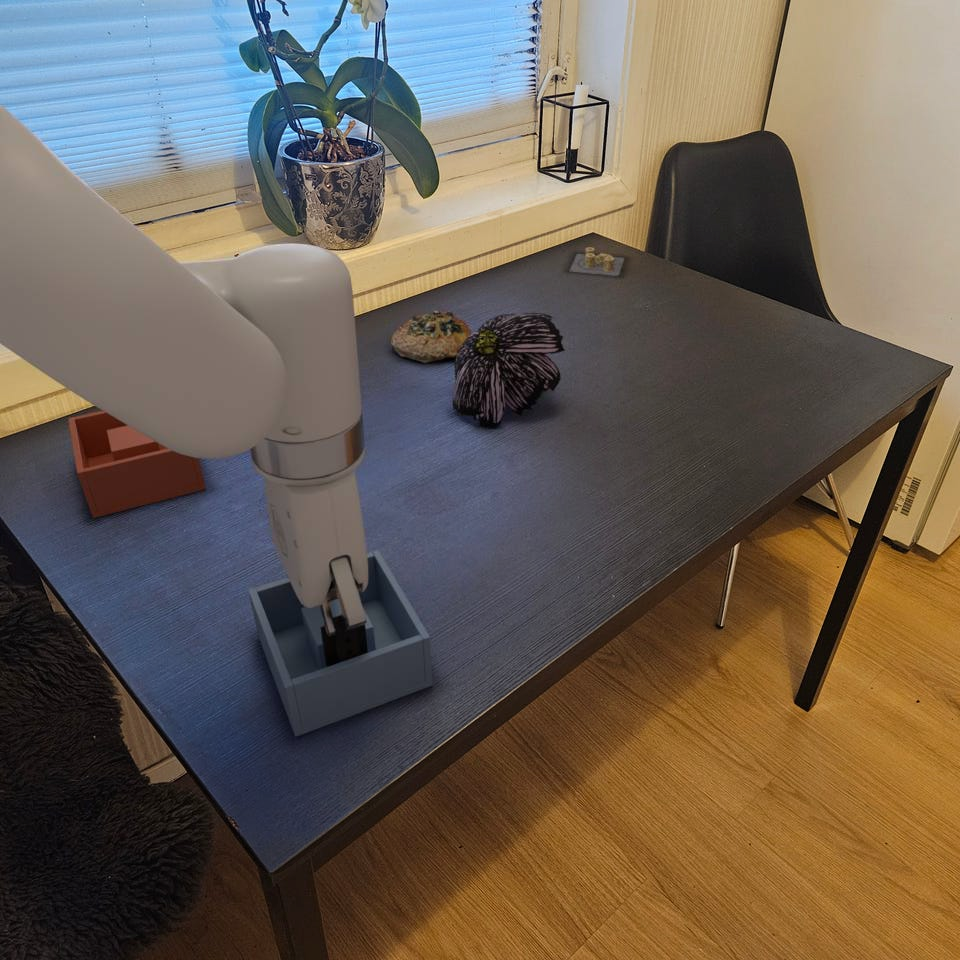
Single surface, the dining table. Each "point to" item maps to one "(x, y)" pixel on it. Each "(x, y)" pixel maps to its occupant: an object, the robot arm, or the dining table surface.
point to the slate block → (313, 631)
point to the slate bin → (354, 681)
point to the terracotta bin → (127, 469)
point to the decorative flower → (506, 366)
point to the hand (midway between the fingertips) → (330, 625)
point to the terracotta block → (129, 443)
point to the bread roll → (430, 337)
